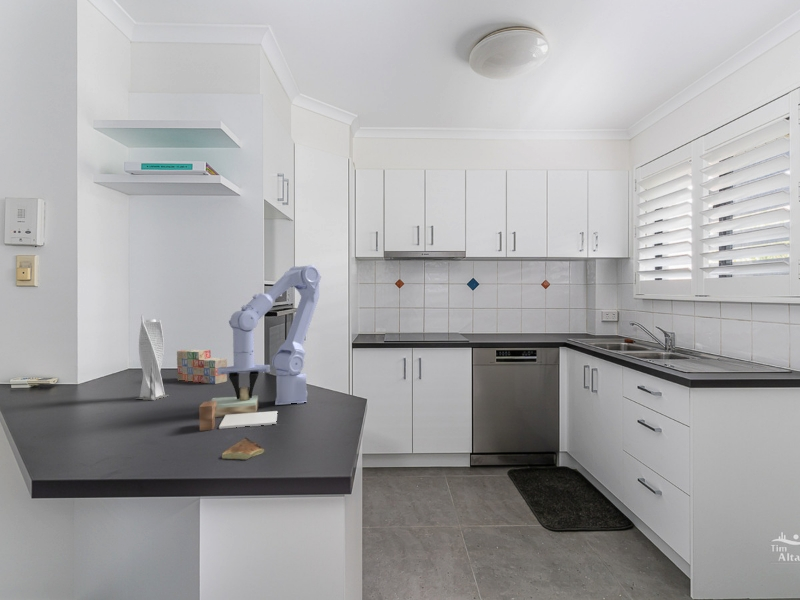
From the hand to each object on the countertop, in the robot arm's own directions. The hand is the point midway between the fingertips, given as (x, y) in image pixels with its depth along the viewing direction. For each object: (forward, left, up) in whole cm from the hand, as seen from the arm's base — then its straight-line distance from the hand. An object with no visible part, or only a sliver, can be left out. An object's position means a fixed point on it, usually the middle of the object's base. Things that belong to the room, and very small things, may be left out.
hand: (244, 397), depth 133 cm
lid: (+3, 0, -1) cm, 3 cm away
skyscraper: (+33, -28, -4) cm, 43 cm away
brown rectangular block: (+7, +14, -4) cm, 17 cm away
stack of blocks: (+22, -56, -4) cm, 60 cm away
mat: (-2, +12, -4) cm, 12 cm away
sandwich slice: (-2, +37, -5) cm, 37 cm away
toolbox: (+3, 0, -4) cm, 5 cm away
